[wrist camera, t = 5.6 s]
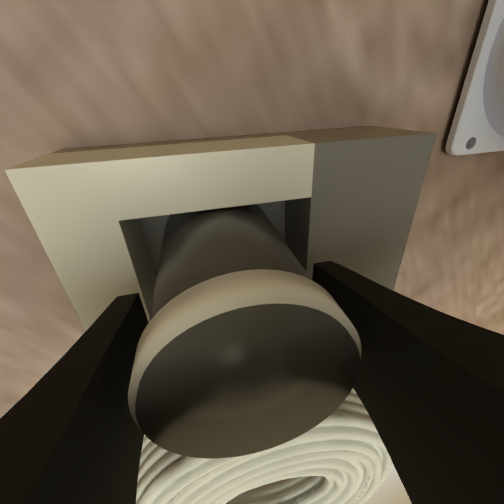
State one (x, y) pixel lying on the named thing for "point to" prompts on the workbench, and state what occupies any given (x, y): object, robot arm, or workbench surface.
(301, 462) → the cable
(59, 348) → the workbench surface
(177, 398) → the knob
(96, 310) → the hollow square frame
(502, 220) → the workbench surface
